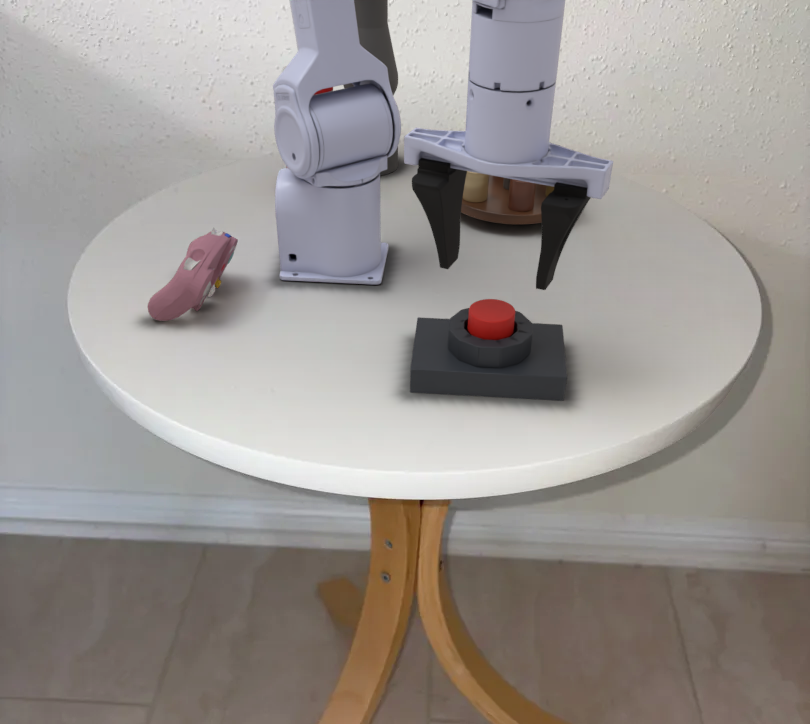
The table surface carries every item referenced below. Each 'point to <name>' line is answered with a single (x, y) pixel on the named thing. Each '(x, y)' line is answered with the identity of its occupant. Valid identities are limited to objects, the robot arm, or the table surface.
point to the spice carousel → (503, 199)
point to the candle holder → (377, 47)
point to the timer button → (491, 319)
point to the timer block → (488, 360)
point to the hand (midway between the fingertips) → (495, 273)
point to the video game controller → (194, 276)
